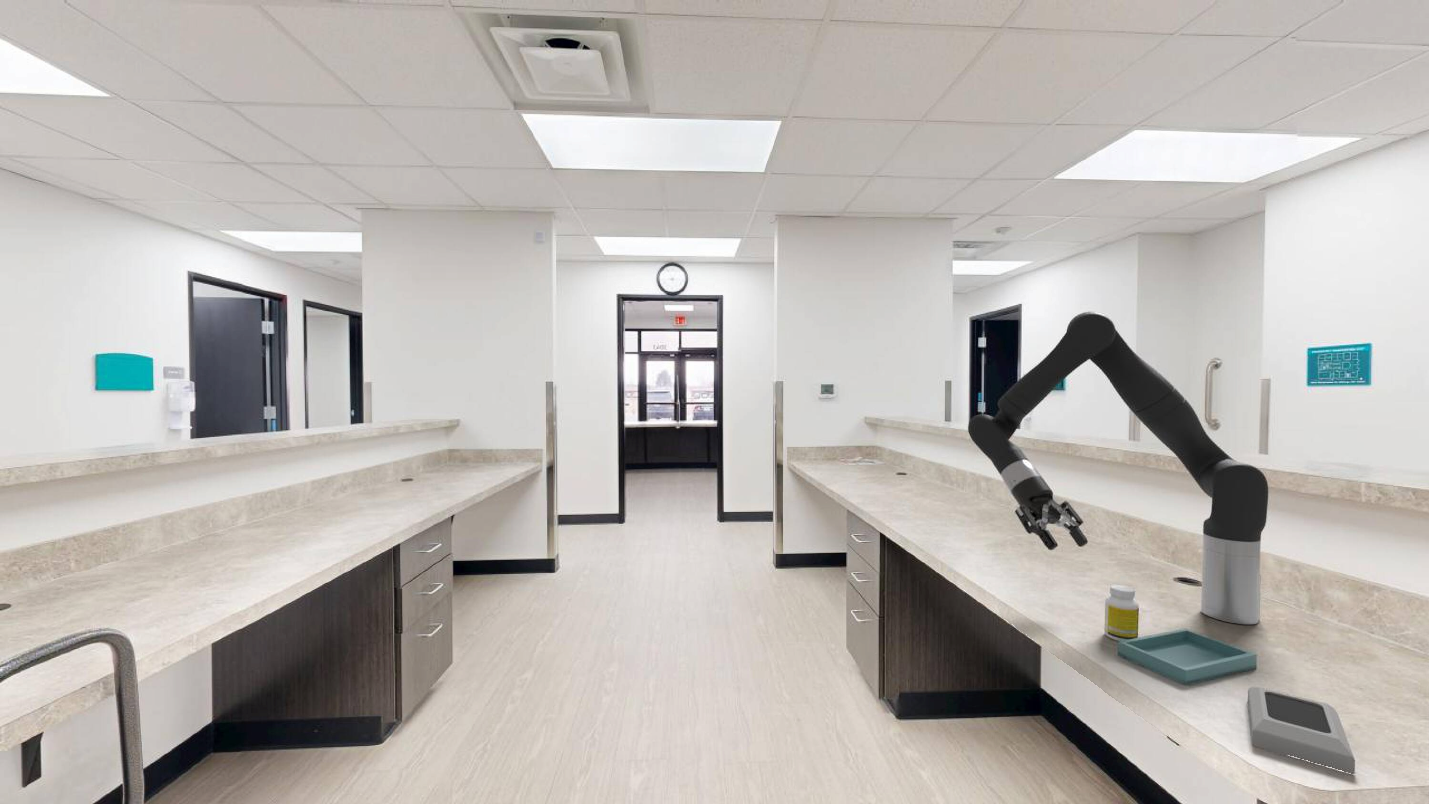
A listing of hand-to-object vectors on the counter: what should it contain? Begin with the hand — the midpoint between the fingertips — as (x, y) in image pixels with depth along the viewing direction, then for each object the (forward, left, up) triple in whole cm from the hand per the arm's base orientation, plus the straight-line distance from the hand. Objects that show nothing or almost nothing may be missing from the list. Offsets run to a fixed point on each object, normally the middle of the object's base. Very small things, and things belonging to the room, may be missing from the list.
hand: (1069, 546), depth 126 cm
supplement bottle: (0, +12, -15) cm, 19 cm away
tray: (-1, +23, -15) cm, 27 cm away
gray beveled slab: (+8, +43, -16) cm, 46 cm away
